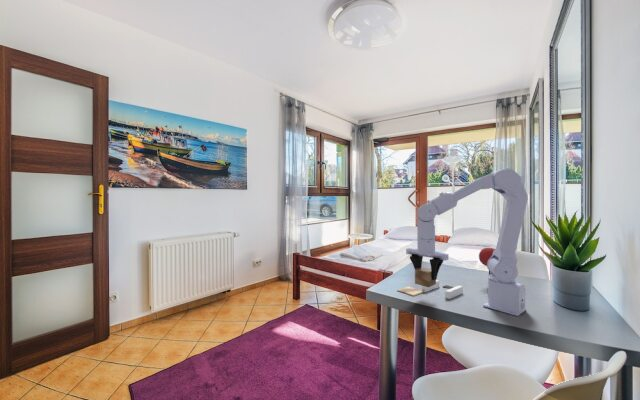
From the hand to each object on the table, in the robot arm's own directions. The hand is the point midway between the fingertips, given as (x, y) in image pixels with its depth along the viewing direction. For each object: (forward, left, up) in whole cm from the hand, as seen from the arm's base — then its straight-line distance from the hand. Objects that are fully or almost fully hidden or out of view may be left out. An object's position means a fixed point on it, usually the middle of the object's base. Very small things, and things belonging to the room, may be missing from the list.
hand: (426, 277), depth 93 cm
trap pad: (0, -18, -7) cm, 20 cm away
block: (0, +1, -2) cm, 2 cm away
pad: (+8, -2, -7) cm, 11 cm away
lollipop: (-7, -36, -8) cm, 37 cm away
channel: (0, -11, -7) cm, 13 cm away
